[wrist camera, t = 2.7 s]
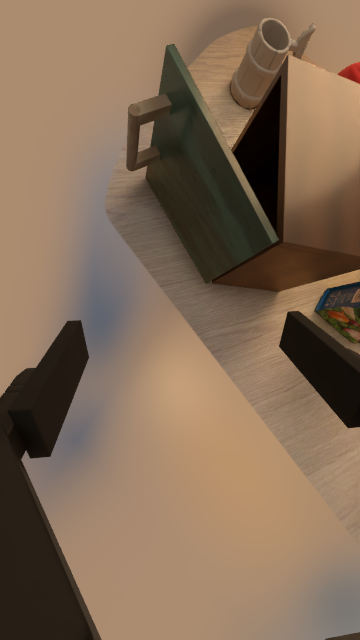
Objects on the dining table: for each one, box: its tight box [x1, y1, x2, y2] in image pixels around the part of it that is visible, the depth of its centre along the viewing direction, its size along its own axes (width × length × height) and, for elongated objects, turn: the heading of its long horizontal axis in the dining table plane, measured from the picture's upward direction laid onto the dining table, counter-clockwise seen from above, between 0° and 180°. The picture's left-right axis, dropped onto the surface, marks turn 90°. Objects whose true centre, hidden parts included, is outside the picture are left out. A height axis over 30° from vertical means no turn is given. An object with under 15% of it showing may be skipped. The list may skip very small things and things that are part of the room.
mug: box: [231, 18, 315, 108], centre depth 44 cm, size 8×12×12 cm, turn 98°
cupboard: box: [212, 55, 360, 291], centre depth 38 cm, size 15×22×20 cm
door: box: [126, 44, 279, 283], centre depth 33 cm, size 6×22×20 cm, turn 32°
